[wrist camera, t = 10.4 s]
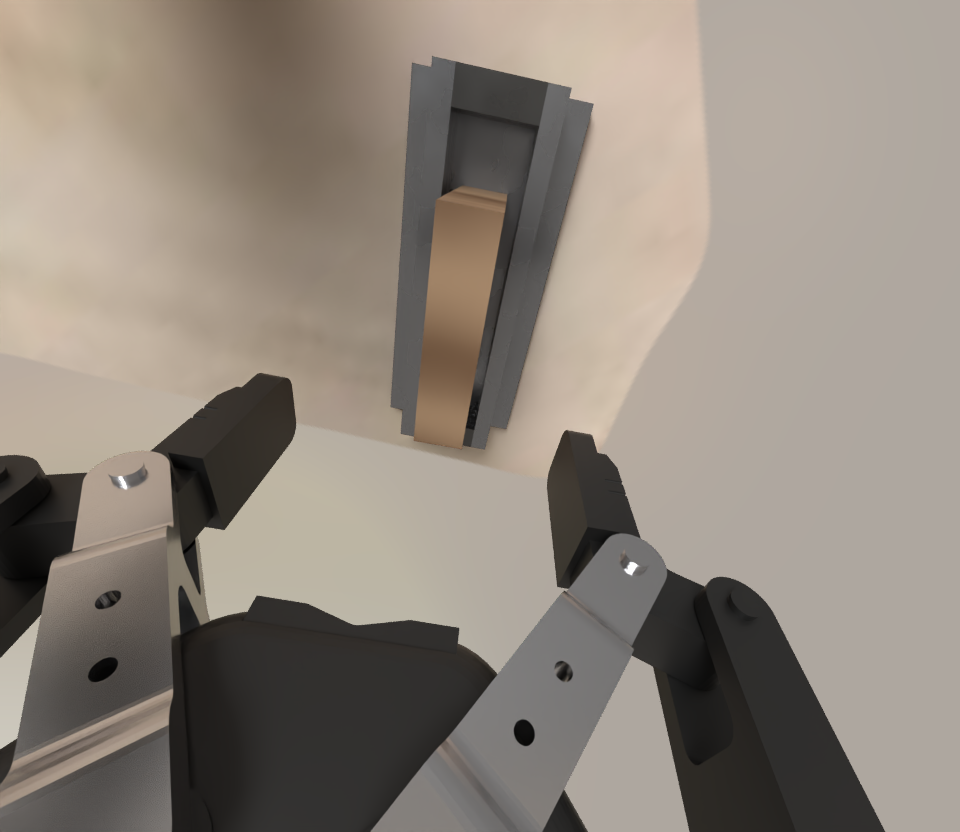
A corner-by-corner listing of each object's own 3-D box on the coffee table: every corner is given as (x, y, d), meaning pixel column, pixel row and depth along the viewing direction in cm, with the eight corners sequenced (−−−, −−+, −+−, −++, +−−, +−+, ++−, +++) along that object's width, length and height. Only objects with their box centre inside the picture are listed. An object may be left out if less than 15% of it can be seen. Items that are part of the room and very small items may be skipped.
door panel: (462, 185, 21) (435, 199, 14) (507, 194, 22) (504, 213, 14) (440, 363, 28) (413, 440, 20) (475, 370, 28) (461, 449, 20)
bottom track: (416, 66, 20) (396, 48, 16) (590, 106, 20) (605, 95, 17) (393, 400, 31) (379, 429, 27) (506, 421, 31) (505, 453, 28)
